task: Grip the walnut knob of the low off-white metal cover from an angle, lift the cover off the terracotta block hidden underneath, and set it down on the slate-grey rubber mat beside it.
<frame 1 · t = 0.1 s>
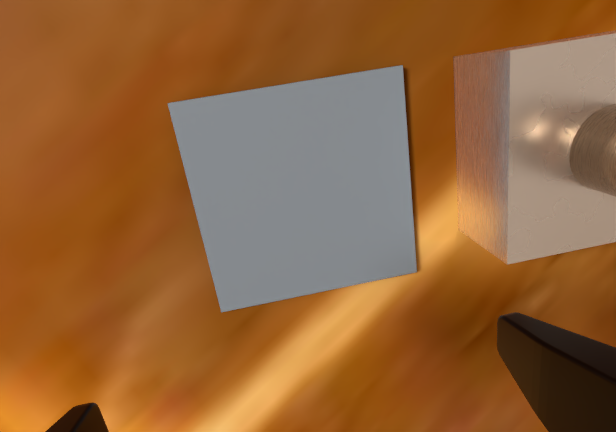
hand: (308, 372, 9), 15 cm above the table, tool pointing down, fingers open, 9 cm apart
cover: (537, 134, 24), on the table
mat: (304, 194, 23), on the table
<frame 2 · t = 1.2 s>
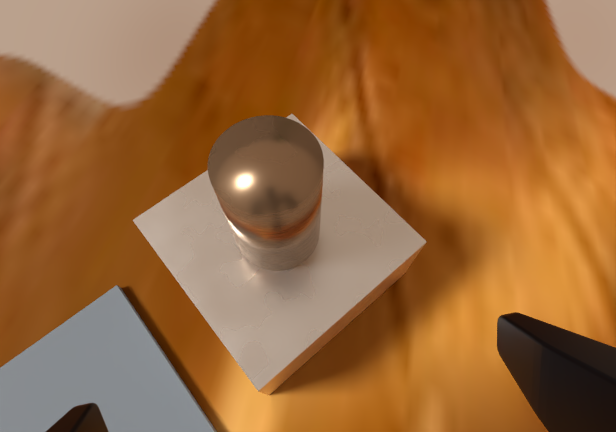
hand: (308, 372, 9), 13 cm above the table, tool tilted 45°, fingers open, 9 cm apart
cover: (283, 264, 24), on the table
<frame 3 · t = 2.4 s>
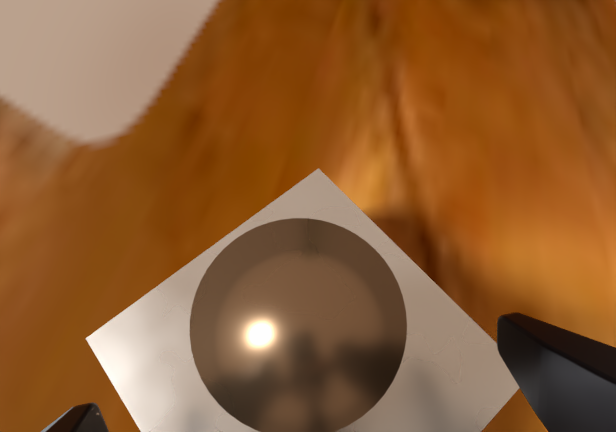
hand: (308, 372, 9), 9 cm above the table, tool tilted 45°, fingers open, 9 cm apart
cover: (304, 371, 17), on the table
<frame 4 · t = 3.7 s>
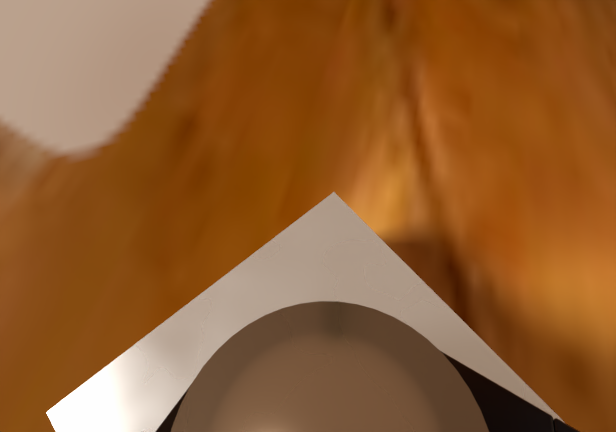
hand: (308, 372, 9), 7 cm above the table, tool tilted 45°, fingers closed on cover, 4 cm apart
cover: (315, 428, 15), on the table, touching gripper
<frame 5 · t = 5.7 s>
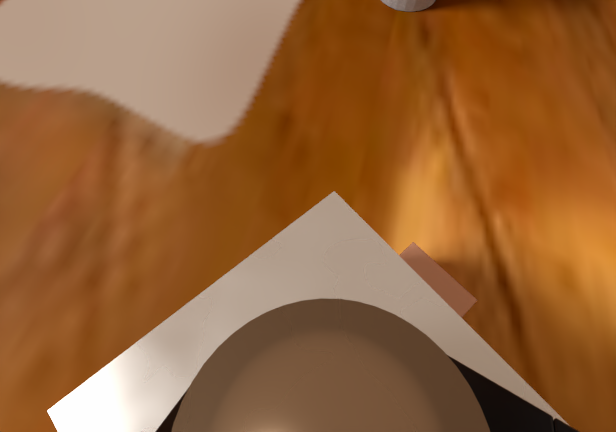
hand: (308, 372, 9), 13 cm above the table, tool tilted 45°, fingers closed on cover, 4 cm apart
cover: (316, 427, 15), point 6 cm above the table, touching gripper
house plant: (395, 0, 34), on the table
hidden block: (408, 307, 21), on the table
when the fingers open (9 cm above the table, at t = 7.7 s): cover drops 1 cm, resting on mat.
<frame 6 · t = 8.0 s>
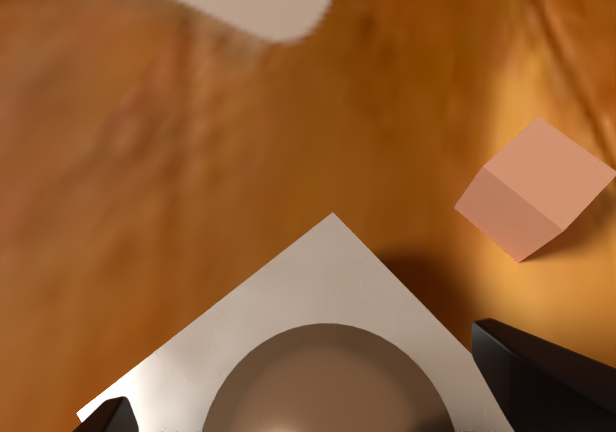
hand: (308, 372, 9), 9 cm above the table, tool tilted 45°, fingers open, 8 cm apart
cover: (316, 427, 16), resting on mat
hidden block: (527, 192, 19), on the table
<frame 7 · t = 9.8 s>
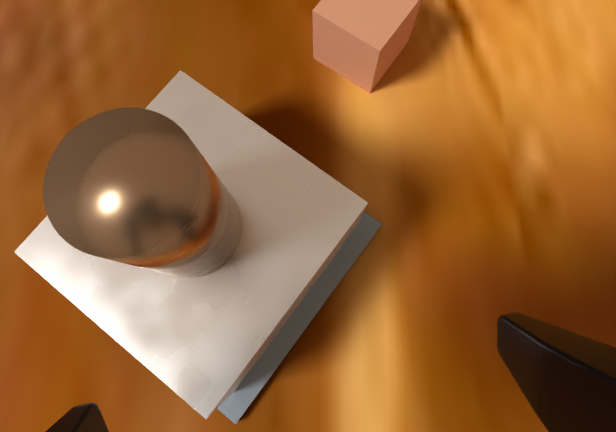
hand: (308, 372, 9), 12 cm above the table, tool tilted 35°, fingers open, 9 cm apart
cover: (220, 246, 21), resting on mat
mat: (221, 248, 22), on the table
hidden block: (364, 28, 22), on the table
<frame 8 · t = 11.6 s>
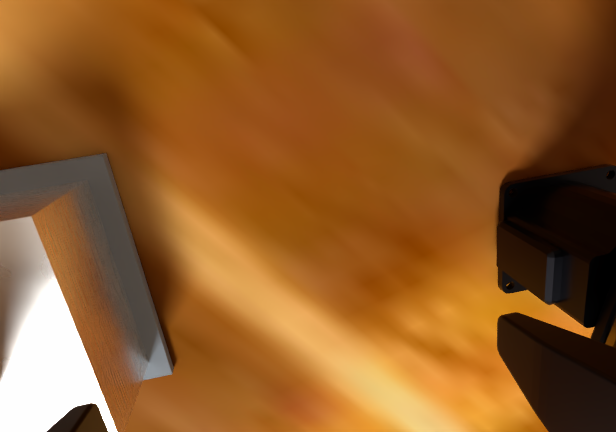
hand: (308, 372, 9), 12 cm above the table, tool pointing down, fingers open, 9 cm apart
cover: (13, 299, 19), resting on mat
mat: (18, 294, 20), on the table
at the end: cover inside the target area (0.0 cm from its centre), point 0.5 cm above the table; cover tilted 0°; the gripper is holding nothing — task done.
